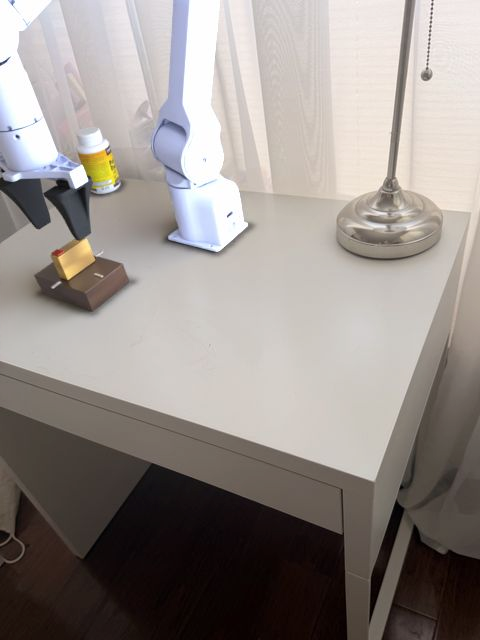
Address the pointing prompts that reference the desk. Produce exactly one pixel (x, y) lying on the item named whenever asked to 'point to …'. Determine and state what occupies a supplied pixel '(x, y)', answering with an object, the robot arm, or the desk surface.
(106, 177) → the supplement bottle
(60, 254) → the thumbturn
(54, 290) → the plate
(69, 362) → the desk surface
